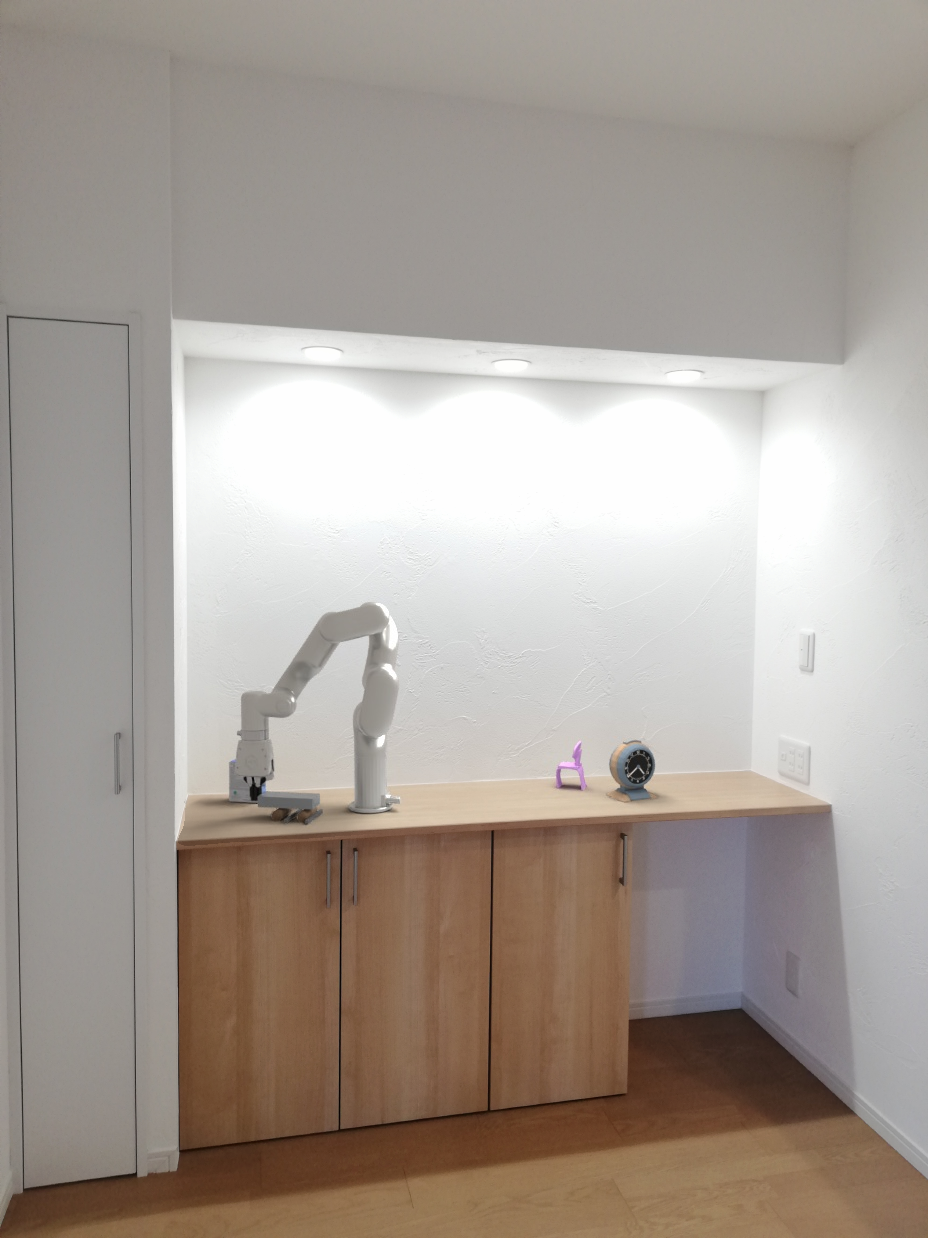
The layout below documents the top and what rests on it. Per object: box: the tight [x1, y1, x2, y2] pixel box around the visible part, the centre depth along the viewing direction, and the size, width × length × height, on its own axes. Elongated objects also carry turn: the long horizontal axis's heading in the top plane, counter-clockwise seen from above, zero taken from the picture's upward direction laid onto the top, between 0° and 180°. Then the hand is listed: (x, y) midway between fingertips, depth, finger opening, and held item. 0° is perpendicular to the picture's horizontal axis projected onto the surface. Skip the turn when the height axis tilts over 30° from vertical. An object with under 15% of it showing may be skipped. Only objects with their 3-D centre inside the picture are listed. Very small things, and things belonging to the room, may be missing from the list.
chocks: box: [283, 808, 324, 825], centre depth 246 cm, size 7×12×1 cm, turn 170°
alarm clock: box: [605, 738, 659, 803], centre depth 269 cm, size 14×10×18 cm
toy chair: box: [555, 740, 587, 791], centre depth 282 cm, size 8×9×15 cm
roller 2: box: [296, 806, 318, 823], centre depth 246 cm, size 8×3×3 cm
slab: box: [257, 790, 321, 810], centre depth 247 cm, size 16×6×3 cm, turn 80°
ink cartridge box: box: [228, 758, 267, 804], centre depth 265 cm, size 10×6×14 cm, turn 79°
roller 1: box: [271, 808, 293, 822], centre depth 247 cm, size 3×8×3 cm
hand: (255, 799), depth 248 cm, fingers closed
